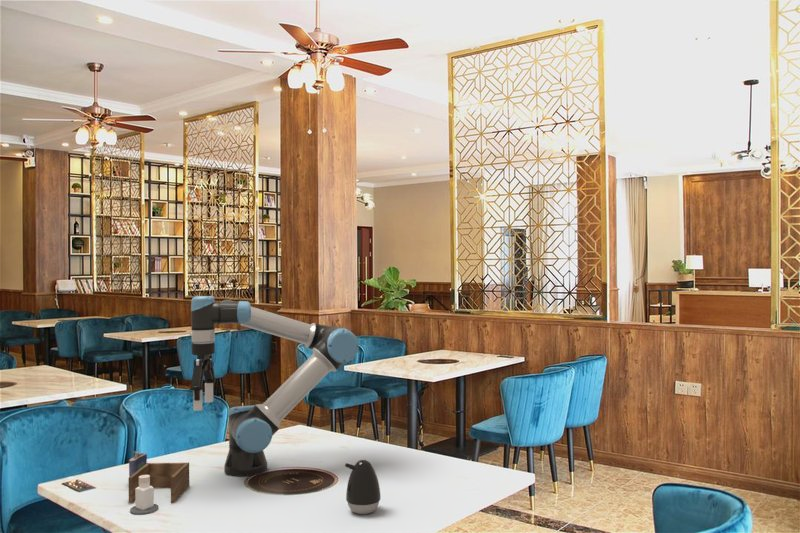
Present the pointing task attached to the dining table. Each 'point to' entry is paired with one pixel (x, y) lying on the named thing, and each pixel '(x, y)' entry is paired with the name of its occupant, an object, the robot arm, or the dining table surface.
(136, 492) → the pepper shaker
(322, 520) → the dining table surface
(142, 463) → the flask
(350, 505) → the pump dispenser
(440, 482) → the dining table surface
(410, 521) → the dining table surface
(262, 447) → the robot arm
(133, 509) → the slate coaster
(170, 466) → the wooden u-shaped frame
